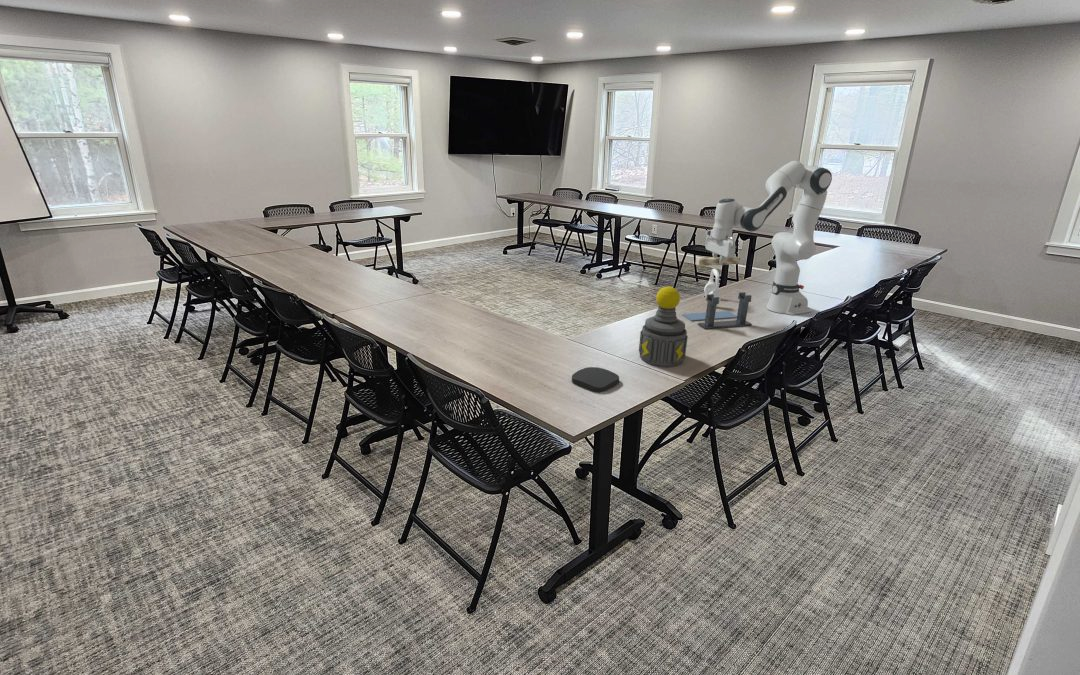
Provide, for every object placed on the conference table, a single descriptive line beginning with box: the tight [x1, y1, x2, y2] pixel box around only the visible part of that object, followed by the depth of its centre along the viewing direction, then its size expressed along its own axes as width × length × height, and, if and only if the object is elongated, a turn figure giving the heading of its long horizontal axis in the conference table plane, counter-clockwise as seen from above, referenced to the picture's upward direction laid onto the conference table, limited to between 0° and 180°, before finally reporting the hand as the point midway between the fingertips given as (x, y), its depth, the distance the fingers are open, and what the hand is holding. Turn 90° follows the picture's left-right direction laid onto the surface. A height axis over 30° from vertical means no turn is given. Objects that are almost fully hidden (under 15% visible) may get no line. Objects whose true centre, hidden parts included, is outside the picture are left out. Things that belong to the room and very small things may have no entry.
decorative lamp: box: [638, 286, 689, 368], centre depth 223 cm, size 19×19×30 cm
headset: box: [701, 268, 722, 303], centre depth 298 cm, size 20×7×18 cm, turn 172°
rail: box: [694, 256, 741, 267], centre depth 269 cm, size 22×3×3 cm, turn 105°
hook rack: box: [697, 291, 753, 330], centre depth 265 cm, size 25×6×15 cm, turn 105°
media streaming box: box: [571, 366, 620, 393], centre depth 206 cm, size 15×15×3 cm
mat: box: [681, 310, 737, 322], centre depth 279 cm, size 26×9×1 cm, turn 105°
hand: (717, 263), depth 269 cm, fingers closed on rail, 3 cm apart
